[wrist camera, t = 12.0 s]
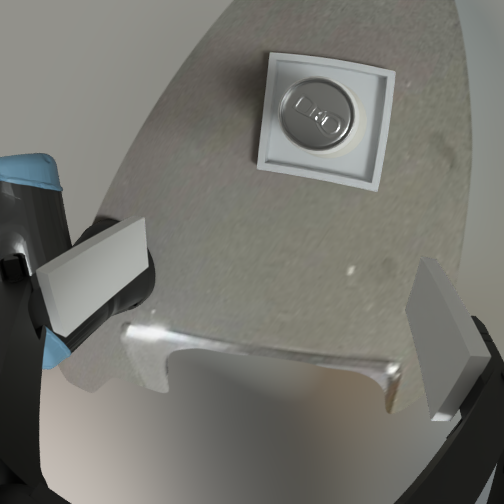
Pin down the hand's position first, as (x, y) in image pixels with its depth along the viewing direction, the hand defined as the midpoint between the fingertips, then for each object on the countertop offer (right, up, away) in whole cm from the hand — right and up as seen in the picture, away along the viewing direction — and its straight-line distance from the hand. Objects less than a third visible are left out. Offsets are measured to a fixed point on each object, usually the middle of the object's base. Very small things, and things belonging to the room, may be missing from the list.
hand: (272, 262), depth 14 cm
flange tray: (+7, +15, +18) cm, 25 cm away
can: (+7, +15, +18) cm, 24 cm away
